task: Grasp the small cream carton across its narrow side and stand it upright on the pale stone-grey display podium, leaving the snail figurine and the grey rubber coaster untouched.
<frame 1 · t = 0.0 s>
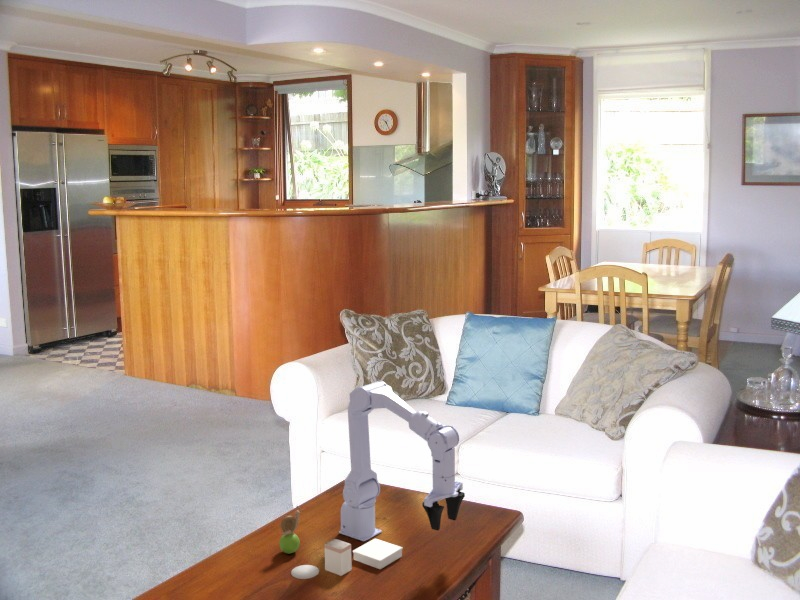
hand: (443, 524, 215), 10 cm above the table, tool pointing down, fingers open, 7 cm apart
podium: (377, 558, 219), on the table
carton: (338, 569, 213), on the table
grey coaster: (305, 573, 212), on the table
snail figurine: (291, 552, 223), on the table
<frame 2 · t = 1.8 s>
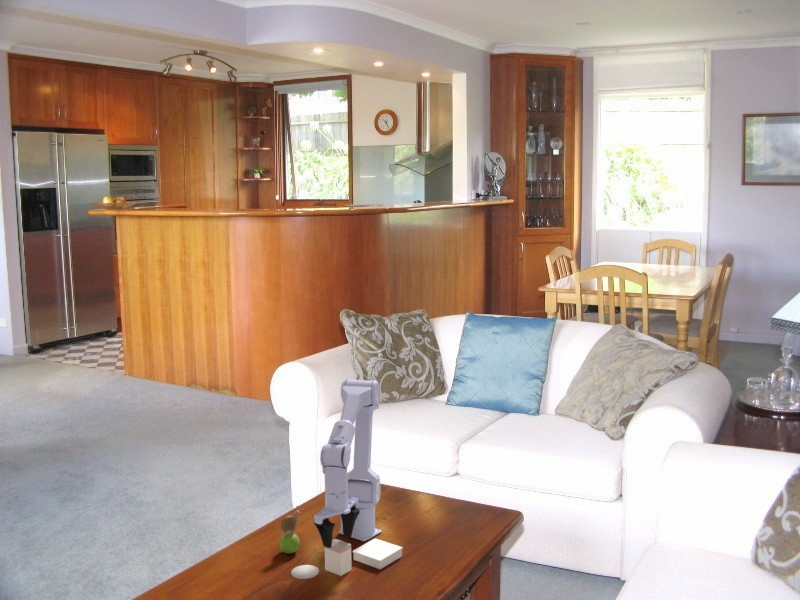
hand: (337, 541, 212), 8 cm above the table, tool pointing down, fingers open, 7 cm apart
nothing on the table moved.
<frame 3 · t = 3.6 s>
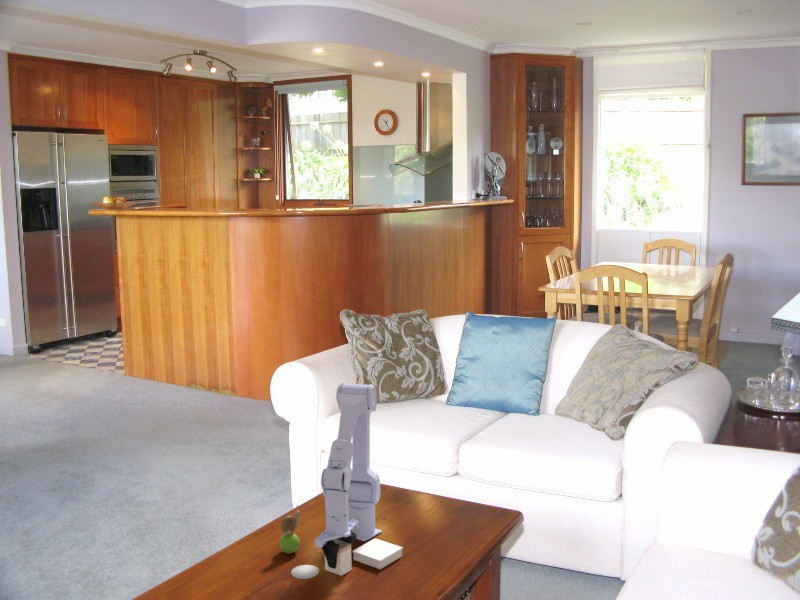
hand: (338, 563, 213), 2 cm above the table, tool pointing down, fingers closed on carton, 4 cm apart
carton: (338, 569, 213), on the table, touching gripper
everything else where it was.
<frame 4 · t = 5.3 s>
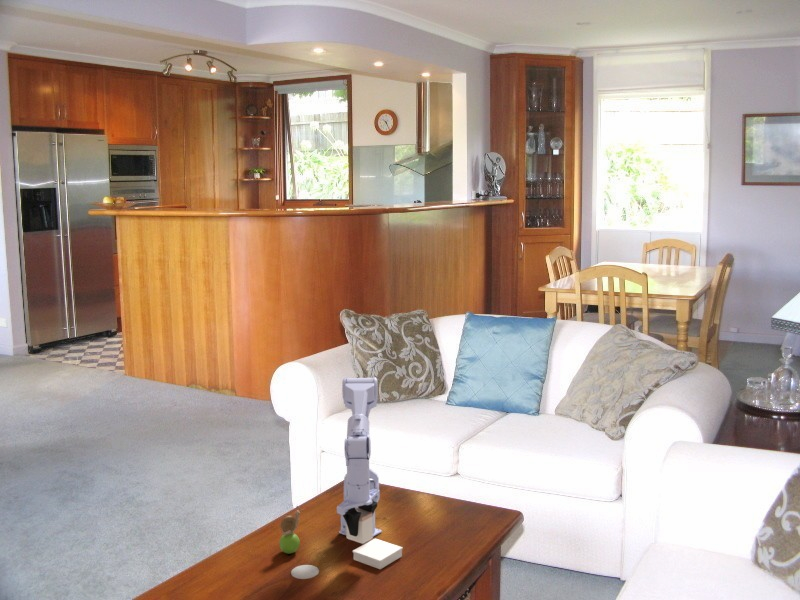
hand: (359, 532, 215), 9 cm above the table, tool pointing down, fingers closed on carton, 4 cm apart
carton: (359, 538, 215), point 7 cm above the table, touching gripper
everything else where it was.
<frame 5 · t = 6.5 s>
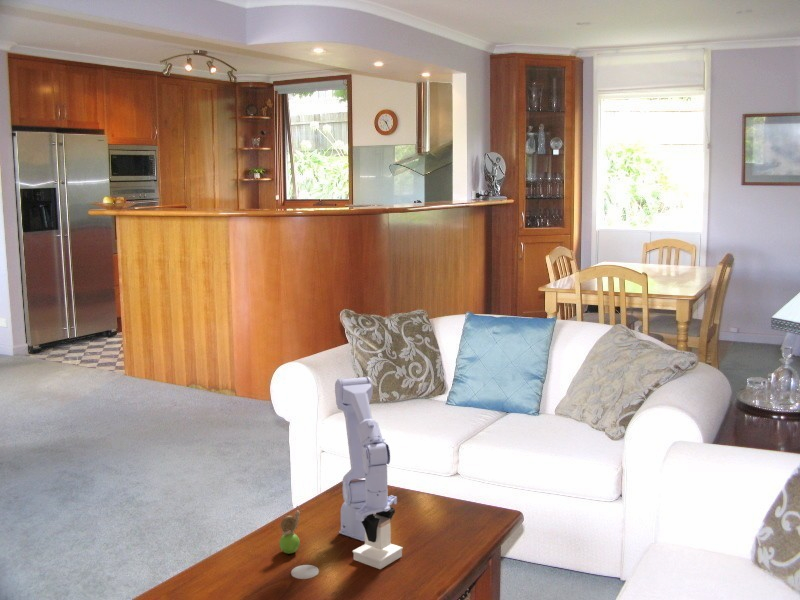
hand: (377, 537, 218), 6 cm above the table, tool pointing down, fingers closed on carton, 4 cm apart
carton: (377, 544, 219), point 4 cm above the table, touching gripper
everything else where it was.
when the fingers open (6 cm above the table, at t = 7.2 s): carton drops 1 cm, resting on podium.
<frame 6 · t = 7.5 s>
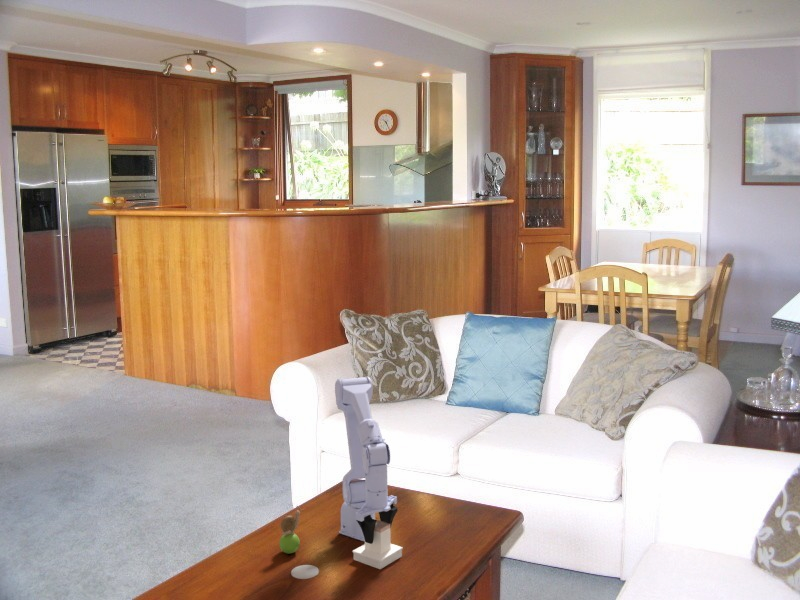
hand: (377, 537, 218), 6 cm above the table, tool pointing down, fingers open, 6 cm apart
carton: (377, 549, 219), point 2 cm above the table, touching podium
everything else where it was.
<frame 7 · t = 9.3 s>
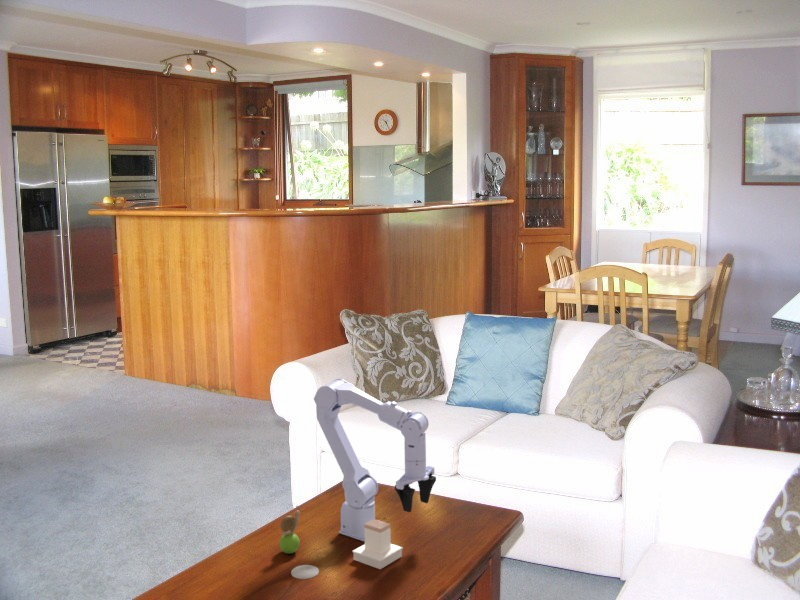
hand: (416, 506, 226), 10 cm above the table, tool pointing down, fingers open, 7 cm apart
nothing on the table moved.
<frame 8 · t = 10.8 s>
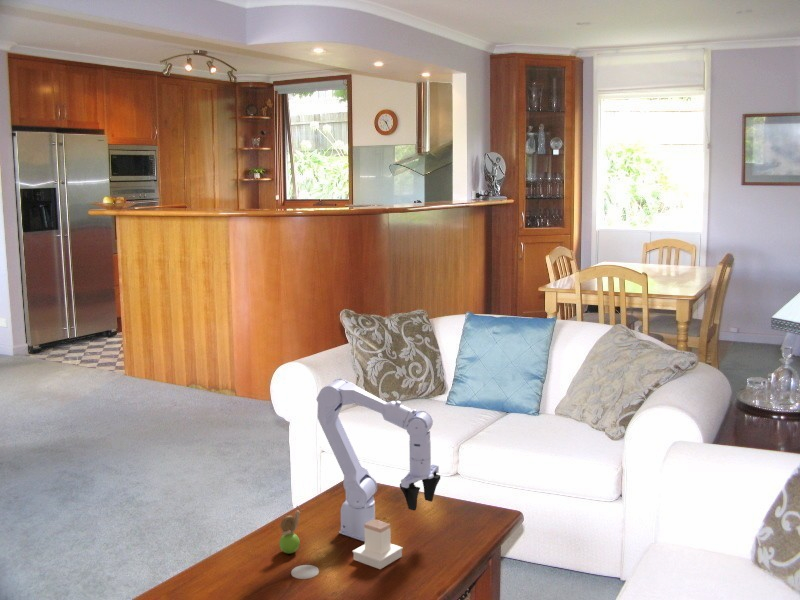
hand: (420, 504, 227), 10 cm above the table, tool pointing down, fingers open, 7 cm apart
nothing on the table moved.
at the end: carton 0.1 cm off-centre on the podium, point 2.5 cm above the podium's base; carton tilted 0°; the gripper is holding nothing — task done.
